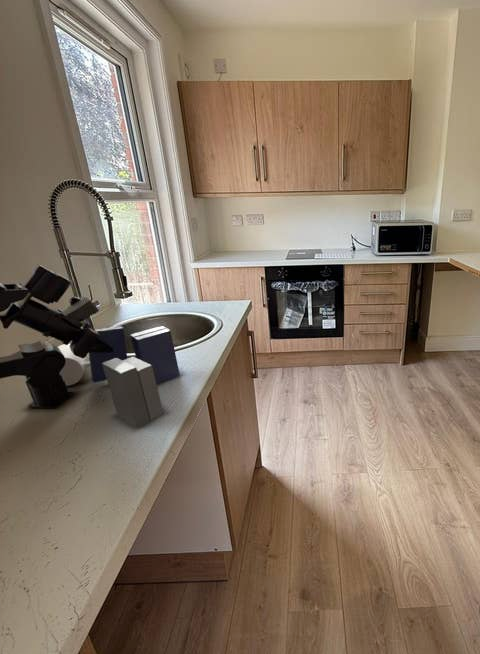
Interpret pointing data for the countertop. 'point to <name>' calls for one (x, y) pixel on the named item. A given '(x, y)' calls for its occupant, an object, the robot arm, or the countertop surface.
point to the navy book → (117, 342)
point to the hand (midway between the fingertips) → (111, 349)
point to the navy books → (157, 352)
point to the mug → (72, 366)
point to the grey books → (133, 390)
